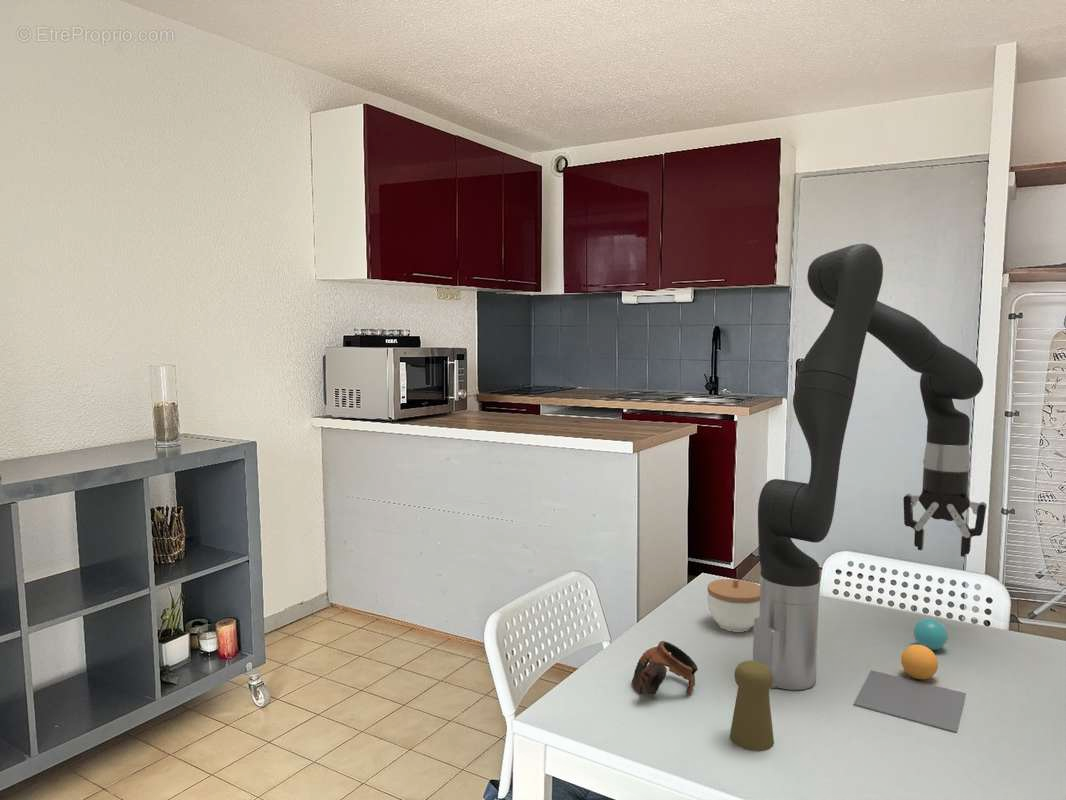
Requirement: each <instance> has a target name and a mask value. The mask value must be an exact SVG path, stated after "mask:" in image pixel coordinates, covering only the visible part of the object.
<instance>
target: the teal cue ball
mask: <svg viewBox="0 0 1066 800" xmlns="http://www.w3.org/2000/svg"><path fill="white" fill-rule="evenodd" d="M913 637H914V639H915V641H916V643H917V645H923V646H925V647H927V648H929V649H930V650H931V651H936V650H940V649H942V648H943V647H944V646H945V645H946V644H947V642H948V631H947V628H946V627H945V626H944V624H942V623H941V622H940V621H938V620H936V619H934V618H923V619H920V620H919V621H918V622H916V624H915V625H914V627H913Z"/></svg>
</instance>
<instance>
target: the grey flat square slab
mask: <svg viewBox="0 0 1066 800" xmlns="http://www.w3.org/2000/svg"><path fill="white" fill-rule="evenodd" d="M965 695H967V692H962V691H959V690H954V689H950V688H946V687H942V686H937V685H934V684H930V683H926V682H922V681H918V680H913V679H908V678H905V677H901V676H897V675H893V674H889V673H885V672H884V673H883V672H880V671H875V670H870V672H869V674H868V676H867V677H866V679H865V682H864V683H863V685H862V686H861V689H860V690H859V692H858V694H857V696H856V698H855V699H854V702H853V706H855V707H859V708H863V709H866V710H871V711H875V712H878V713H881V714H886V715H887V716H888V715H889V716H893V717H896V718H899V719H903V720H907V721H911V722H915V723H919V724H922V725H926V726H930V727H933V728H937V729H941V730H944V731H948V732H951V733H955V734H957V733H958V729H959V725H960V720H961V716H962V712H963V708H964V704H965V699H966V696H965Z"/></svg>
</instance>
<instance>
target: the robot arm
mask: <svg viewBox="0 0 1066 800" xmlns="http://www.w3.org/2000/svg"><path fill="white" fill-rule="evenodd" d="M883 267H884V265H883V259H882V257H881V254H880V252H879V251H878V250H877V249H876V247H874V246H873V245H871V244H868V243H857V244H853V245H852V244H851V245H848V246H846V247H841V248H838V249H836V250H833V251H829V252H827V253H824V254H822V255H820V256H818V257H816V258H815V259H813V260H812V262H810V265H809V266H808V269H807V276H806V277H807V284H808V286H809V288H810V291H811V293H812V294H813V295H814V296H815V297H816V299H818V300H819V302H821V303H822V304H824V305H825V306H827V307H829V308H830V309H832V310H833V311H832V314H831V316H830V319H829V321H828V322H827V324H826V326H825V327H824V329H823V330H822V332H821V333H820V334H819V335H818V337H817V339H816V340H815V342H813V344H812V346H811V347H810V349H809V350H808V351H807V353H806V354H805V356H804V358H803V360H802V362H801V364H800V367H799V370H798V373H797V378H796V383H795V387H794V391H793V398H792V406H793V411H794V414H795V416H796V421H797V422H798V425H799V427H800V429H801V431H802V433H803V436H804V438H805V441H806V444H807V447H808V449H809V456H810V462H811V463H810V474H809V475H810V476H809V480H808V483H807V482H801V481H794V480H787V479H782V478H781V479H780V478H776V479H775V478H772V479H770V480H768V481H767V482H766V483H765V484H764V486H762V489H761V491H760V493H759V498H758V503H757V504H758V505H757V532H758V533H757V534H758V536H757V538H758V539H757V540H758V549H757V551H758V560H759V561H758V562H759V565H760V585H759V586H760V609H759V617H758V618H755V619H754V625H753V640H752V641H753V643H752V644H753V645H752V661H757V662H760V663H763V664H765V665H766V666H768V667H769V668H770V670H771V671H772V675H773V683H772V686H771V688H770V689H774V688H775V689H776V687H777V688H779V689H783V690H784V689H785V690H791V691H802V690H808V689H809V688H812V687H813V686H814V685H815V684H816V682H817V681H816V679H817V676H816V675H817V657H818V656H817V651H818V632H819V631H818V630H819V629H818V625H819V602H820V582H821V581H820V579H821V578H820V577H821V570H820V569H821V568H820V565H819V562H818V561H817V560H816V559H814V558H813V557H811V556H810V555H808V554H807V553H805V552H804V551H803V550H801V549H800V548H799V547H797V545H796V544H795V543H794V542H793V540H792V539H794V540H799V541H804V542H808V543H821V542H823V541H824V539H826V537H827V536H828V534H829V531H830V529H831V526H832V523H833V518H834V513H835V505H836V499H837V498H836V497H837V491H838V490H837V489H838V481H839V475H840V473H839V472H840V464H841V457H842V451H843V445H844V440H845V434H846V431H847V426H848V421H849V417H850V414H851V409H852V406H853V405H852V404H853V401H854V400H853V399H854V395H855V390H856V386H857V379H858V373H859V368H860V367H859V366H860V362H861V358H862V354H863V351H864V344H865V340H866V337H867V333H868V334H870V335H871V336H873V337H874V338H875V339H877V340H878V341H879V342H880V343H882V344H883V345H884V347H886V348H888V349H889V350H890V351H891V353H893V354H894V355H895V356H896V357H897V358H898V359H899V360H900V361H901V362H902V363H903V364H905V365H906V367H908V368H909V369H910V370H911V371H913V372H917V373H919V374H920V379H919V389H920V394H921V398H922V399H921V400H922V403H923V408H924V412H925V416H926V420H927V425H926V427H927V428H926V444H925V448H924V454H923V460H922V463H923V471H922V472H923V473H922V491H921V493H920V495H914V494H911V493H907V494H905V495H904V496H903V497H902V499H903V521H904V526H906V527H909V528H911V529H913V530H914V539H913V542H914V544H913V545H914V546H915V547H917V550H918V551H923V550H924V541H925V529H924V526H925V525H926V523H928V521H929V520H930V519H931V518H932V519H934V520H944V521H947V522H952V521H954V523H955V524H956V526H957V527H958V529H959V532H961V535H962V536H961V540H960V541H961V542H960V557H964V558H965V557H966V555H969V554H970V552H971V541H972V538H973V537H980V536H982V533H983V531H984V525H985V518H986V511H987V507H988V505H987V503H985V502H984V501H983V502H975V501H971V500H970V499H969V496H968V494H969V476H970V475H969V472H970V462H971V461H970V460H971V458H970V456H971V455H970V434H971V433H970V432H971V431H970V430H971V421H970V420H971V419H970V417H969V416H968V415H967V414H966V413H964V412H962V411H960V410H958V409H957V408H956V407H955V404H954V401H953V400H959V401H961V400H962V401H963V400H970V399H973V398H975V397H976V396H978V395H979V393H981V390H982V388H983V386H984V377H983V374H982V372H981V370H980V368H979V366H978V365H977V364H976V363H975V362H974V361H973V360H972V359H970V358H969V357H967V356H965V355H964V354H962V353H960V352H959V351H958V350H956V349H954V348H952V347H950V346H949V345H946V344H945V343H943V342H942V341H941V340H940V339H939V338H938V337H937V336H936V335H935V334H934V333H933V332H932V331H931V330H930V329H929V328H928V327H927V326H926V325H925V324H923V323H922V322H921V321H920V320H918V319H917V318H915V317H914V316H912V315H910V314H909V313H906V312H904V311H901V310H899V309H897V308H894V307H892V306H890V305H887V304H885V303H883V302H882V301H879V300H878V298H879V295H880V291H881V287H882V283H883V277H884V268H883ZM918 502H919V503H920V505H921V506H922V507H923V509H924V510H925V512H924V513H923V515H922V516H921V517H920V518H919V520H918V521H917V520H915V519H914V511H913V510H914V507H915V506H916V505H917V503H918ZM969 508H971V510H972V513H973V514H974V515H976V518H975V524H974V525H975V526H974V527H972V528H970V526H969V525H968V522H967V520H966V518H965V516H964V513H965V512H966V511H967V510H968V509H969Z"/></svg>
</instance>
